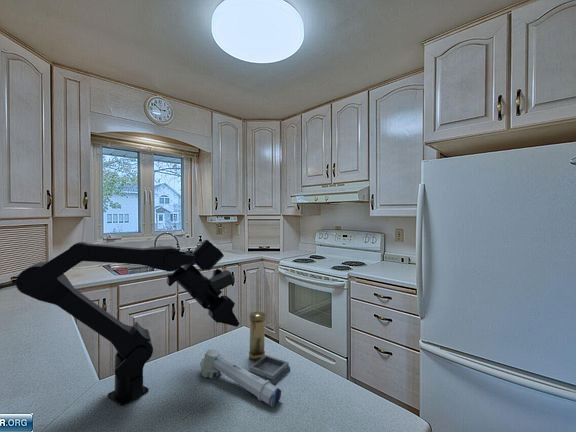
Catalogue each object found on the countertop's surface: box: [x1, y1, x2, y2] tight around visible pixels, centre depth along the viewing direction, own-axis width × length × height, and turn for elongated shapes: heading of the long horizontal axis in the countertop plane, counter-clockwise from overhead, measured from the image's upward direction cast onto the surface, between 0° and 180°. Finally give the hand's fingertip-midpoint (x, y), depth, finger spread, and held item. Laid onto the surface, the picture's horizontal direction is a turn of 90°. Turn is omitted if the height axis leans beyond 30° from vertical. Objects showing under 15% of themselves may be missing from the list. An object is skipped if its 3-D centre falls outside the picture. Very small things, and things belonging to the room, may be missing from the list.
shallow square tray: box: [247, 354, 291, 386], centre depth 76 cm, size 8×8×2 cm
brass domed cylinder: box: [248, 311, 267, 362], centre depth 84 cm, size 5×5×13 cm
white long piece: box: [199, 349, 282, 408], centre depth 70 cm, size 5×7×25 cm
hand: (232, 319), depth 79 cm, fingers open, 9 cm apart
